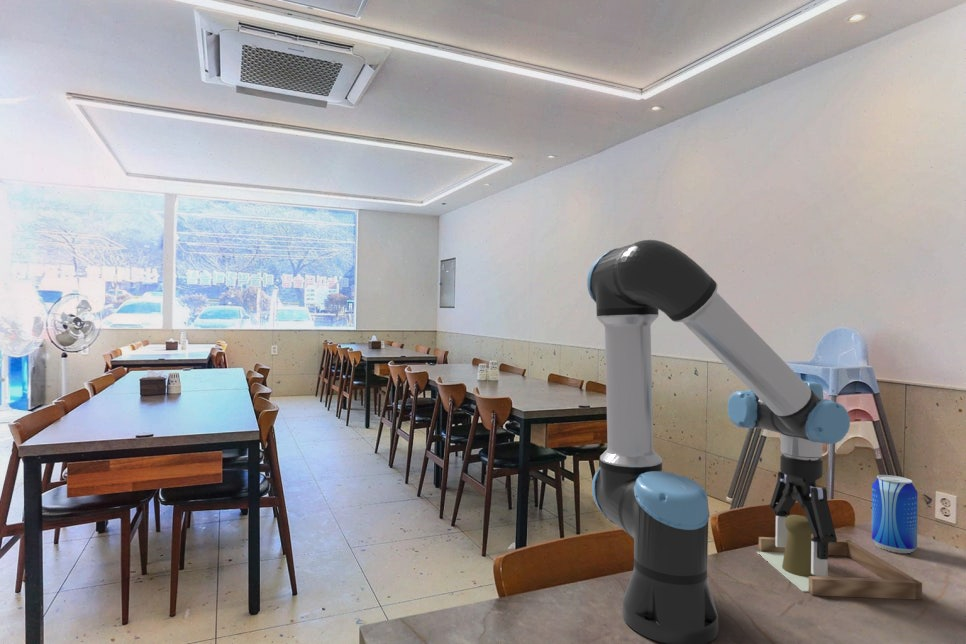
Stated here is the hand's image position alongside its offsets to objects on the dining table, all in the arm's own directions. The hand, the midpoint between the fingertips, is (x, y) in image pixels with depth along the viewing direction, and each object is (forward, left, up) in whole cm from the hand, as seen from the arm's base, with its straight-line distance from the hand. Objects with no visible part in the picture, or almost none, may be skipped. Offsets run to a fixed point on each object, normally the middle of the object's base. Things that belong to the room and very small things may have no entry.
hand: (799, 559), depth 111 cm
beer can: (+30, +15, -3) cm, 33 cm away
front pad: (0, 0, -2) cm, 2 cm away
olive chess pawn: (0, 0, -2) cm, 2 cm away
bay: (+7, 0, -2) cm, 7 cm away
